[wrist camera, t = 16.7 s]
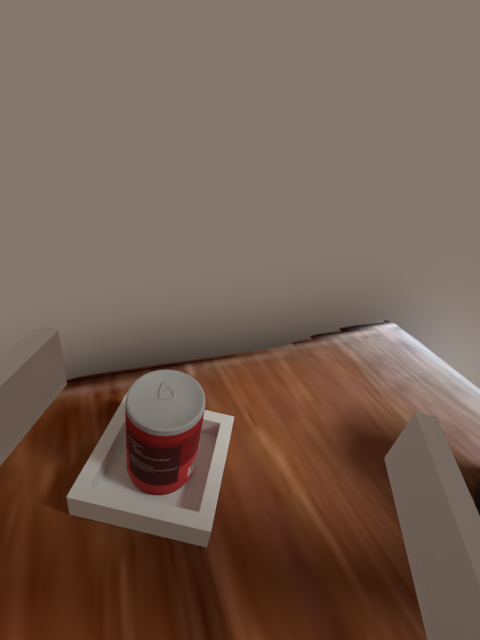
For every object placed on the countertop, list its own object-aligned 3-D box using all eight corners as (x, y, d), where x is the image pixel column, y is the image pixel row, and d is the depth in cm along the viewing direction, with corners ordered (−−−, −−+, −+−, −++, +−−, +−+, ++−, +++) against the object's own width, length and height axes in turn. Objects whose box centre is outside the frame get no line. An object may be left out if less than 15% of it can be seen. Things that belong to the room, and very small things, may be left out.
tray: (230, 432, 46) (234, 416, 44) (207, 547, 34) (210, 532, 32) (127, 408, 46) (127, 391, 44) (69, 514, 34) (66, 497, 33)
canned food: (182, 427, 44) (190, 363, 38) (205, 483, 38) (219, 418, 32) (119, 444, 41) (117, 376, 34) (135, 509, 35) (135, 441, 29)
